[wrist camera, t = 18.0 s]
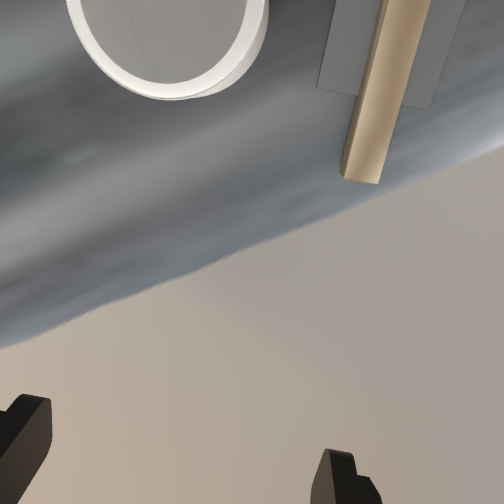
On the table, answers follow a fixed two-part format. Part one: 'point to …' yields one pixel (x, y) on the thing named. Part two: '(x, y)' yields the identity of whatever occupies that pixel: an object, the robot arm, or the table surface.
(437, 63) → the mat
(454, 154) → the table surface
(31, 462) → the robot arm
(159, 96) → the jar
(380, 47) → the beige block
